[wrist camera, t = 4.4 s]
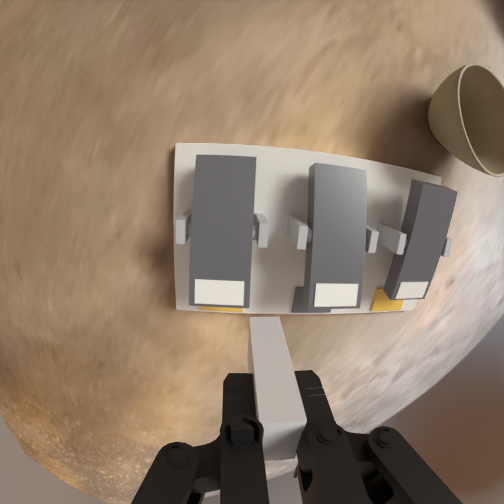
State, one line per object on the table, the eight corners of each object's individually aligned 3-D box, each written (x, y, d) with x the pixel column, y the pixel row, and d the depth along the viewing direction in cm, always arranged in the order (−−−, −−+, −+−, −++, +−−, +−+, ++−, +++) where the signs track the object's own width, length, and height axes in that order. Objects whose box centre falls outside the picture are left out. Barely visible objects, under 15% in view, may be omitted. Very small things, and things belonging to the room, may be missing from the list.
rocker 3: (409, 178, 18) (422, 183, 16) (447, 187, 18) (459, 192, 17) (381, 290, 22) (389, 301, 21) (417, 289, 23) (426, 299, 21)
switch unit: (178, 144, 20) (163, 138, 16) (435, 176, 22) (467, 181, 17) (178, 304, 24) (167, 333, 20) (409, 305, 26) (433, 327, 22)
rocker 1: (196, 160, 19) (193, 154, 17) (257, 163, 19) (259, 156, 17) (189, 299, 19) (185, 305, 18) (250, 302, 20) (252, 308, 18)
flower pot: (427, 182, 22) (478, 192, 15) (392, 84, 19) (439, 66, 12) (481, 155, 21) (526, 161, 14) (453, 72, 18) (497, 61, 11)
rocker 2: (306, 167, 19) (312, 161, 18) (359, 174, 20) (369, 170, 18) (299, 303, 20) (305, 309, 18) (353, 303, 20) (362, 308, 19)
